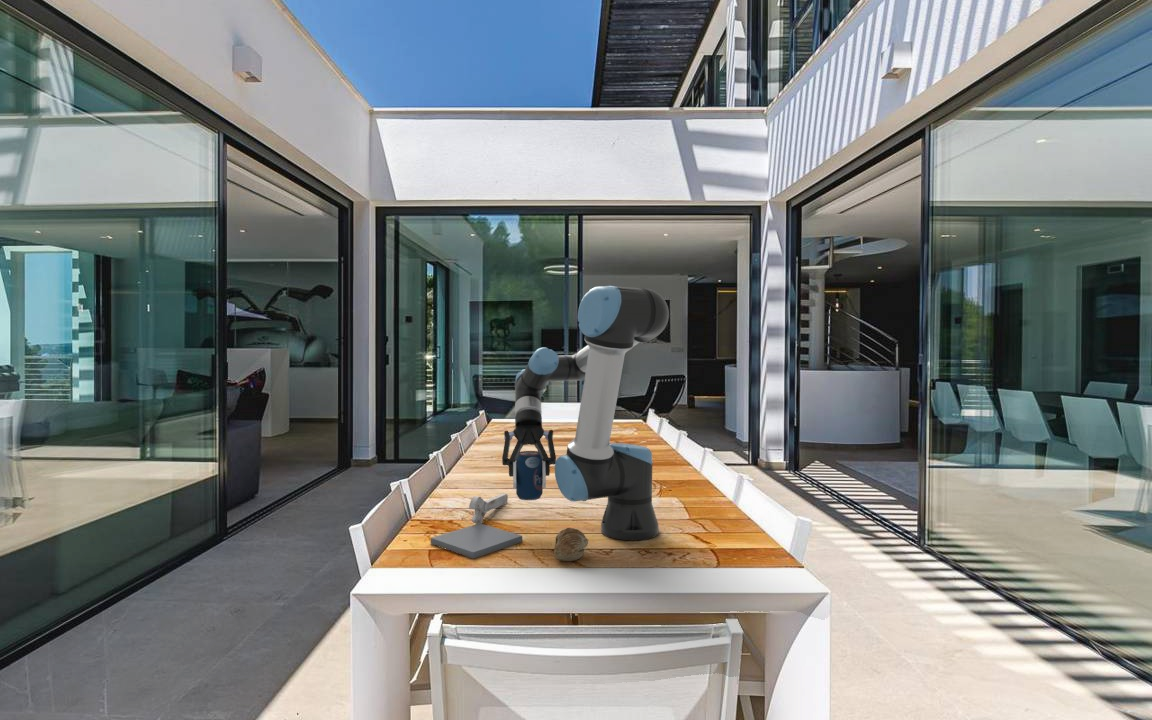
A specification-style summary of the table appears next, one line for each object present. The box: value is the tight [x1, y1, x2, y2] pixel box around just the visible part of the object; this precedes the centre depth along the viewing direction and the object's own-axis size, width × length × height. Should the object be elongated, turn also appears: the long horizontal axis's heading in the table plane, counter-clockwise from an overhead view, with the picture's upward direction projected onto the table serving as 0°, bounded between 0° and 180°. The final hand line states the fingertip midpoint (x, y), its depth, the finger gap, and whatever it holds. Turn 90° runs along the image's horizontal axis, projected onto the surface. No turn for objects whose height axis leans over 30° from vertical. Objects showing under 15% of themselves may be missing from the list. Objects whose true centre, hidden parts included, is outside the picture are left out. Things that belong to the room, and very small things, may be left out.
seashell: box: [553, 527, 589, 562], centre depth 143 cm, size 9×7×8 cm
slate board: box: [430, 523, 523, 559], centre depth 153 cm, size 16×16×2 cm
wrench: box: [468, 493, 509, 525], centre depth 178 cm, size 8×2×30 cm
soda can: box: [515, 450, 544, 501], centre depth 162 cm, size 7×7×12 cm
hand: (529, 485), depth 159 cm, fingers closed on soda can, 7 cm apart
